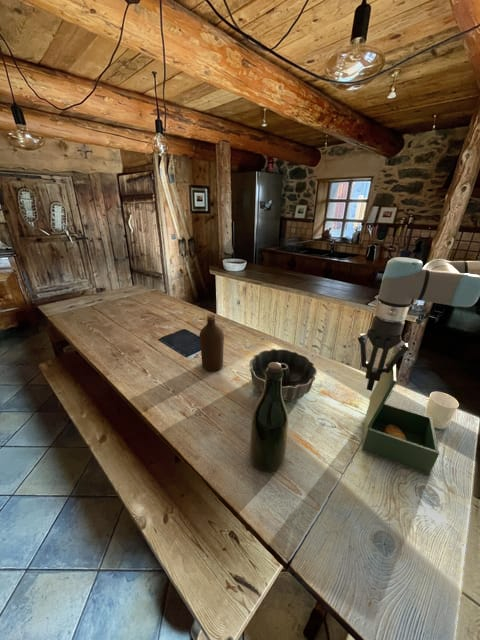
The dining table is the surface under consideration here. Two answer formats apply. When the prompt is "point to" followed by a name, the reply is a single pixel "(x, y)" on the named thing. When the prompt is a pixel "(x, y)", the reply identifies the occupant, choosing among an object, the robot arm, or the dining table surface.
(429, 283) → the robot arm
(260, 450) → the beer bottle
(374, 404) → the bin lid
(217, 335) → the olive oil
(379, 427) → the bin
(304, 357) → the bundt pan
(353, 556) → the dining table surface
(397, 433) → the pastry
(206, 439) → the dining table surface
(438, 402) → the white cup
